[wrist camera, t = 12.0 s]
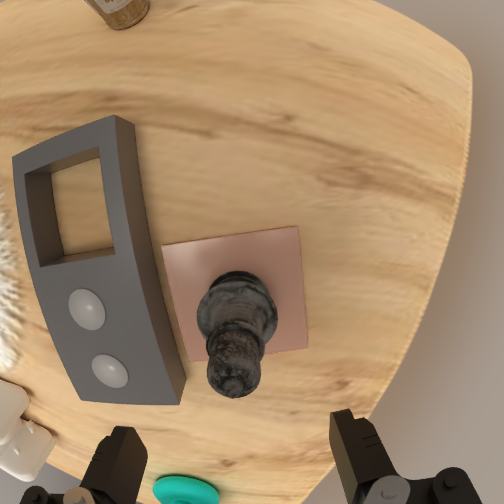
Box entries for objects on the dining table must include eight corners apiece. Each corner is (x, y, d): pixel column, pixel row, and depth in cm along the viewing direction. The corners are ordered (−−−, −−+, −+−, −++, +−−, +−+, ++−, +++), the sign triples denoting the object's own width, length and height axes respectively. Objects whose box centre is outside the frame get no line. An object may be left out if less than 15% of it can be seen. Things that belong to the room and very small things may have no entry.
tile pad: (162, 245, 23) (160, 246, 23) (296, 225, 23) (297, 227, 23) (190, 358, 26) (189, 361, 25) (306, 344, 26) (307, 347, 25)
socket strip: (37, 158, 21) (10, 156, 17) (134, 124, 21) (113, 114, 17) (95, 379, 26) (80, 401, 22) (186, 379, 26) (178, 406, 22)
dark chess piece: (263, 258, 23) (279, 330, 11) (281, 321, 24) (306, 422, 13) (193, 278, 23) (149, 360, 12) (216, 338, 25) (198, 442, 13)
